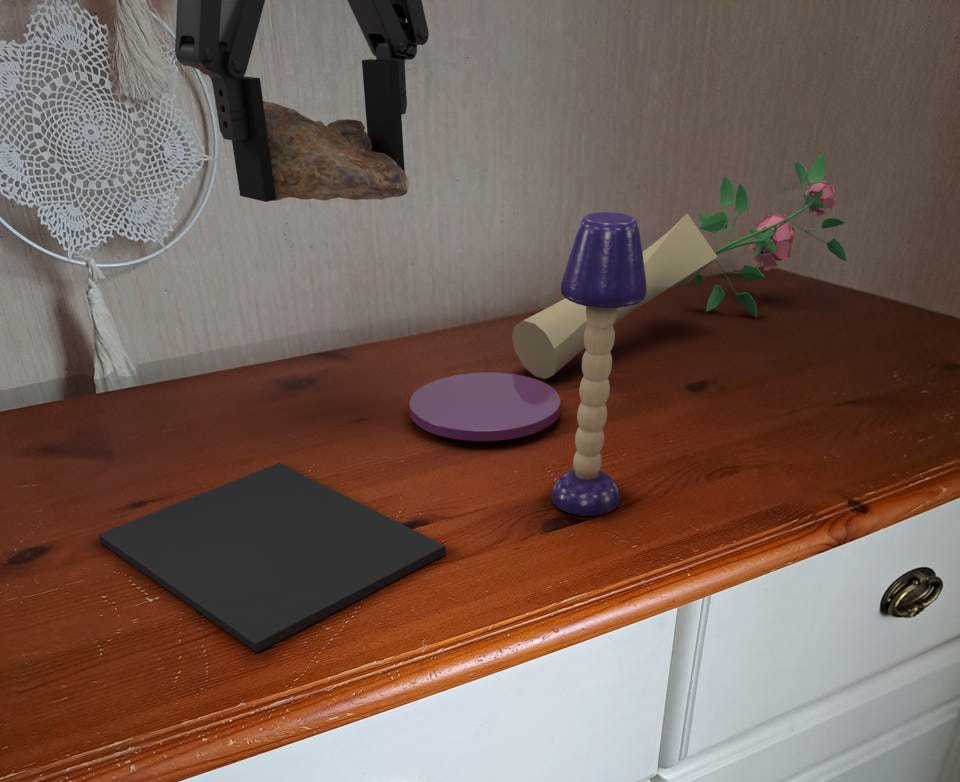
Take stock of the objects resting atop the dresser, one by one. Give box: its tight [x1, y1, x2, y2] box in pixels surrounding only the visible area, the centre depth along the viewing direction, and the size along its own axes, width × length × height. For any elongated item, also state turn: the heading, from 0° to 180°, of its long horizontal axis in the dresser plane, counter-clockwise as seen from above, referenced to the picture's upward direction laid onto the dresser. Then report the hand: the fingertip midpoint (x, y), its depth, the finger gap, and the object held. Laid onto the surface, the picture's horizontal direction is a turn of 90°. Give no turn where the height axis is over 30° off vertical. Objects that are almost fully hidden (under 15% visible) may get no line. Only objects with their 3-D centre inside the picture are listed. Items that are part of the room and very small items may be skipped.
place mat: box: [98, 462, 447, 653], centre depth 56 cm, size 16×13×1 cm
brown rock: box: [263, 100, 410, 202], centre depth 62 cm, size 10×12×5 cm
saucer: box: [409, 372, 562, 442], centre depth 71 cm, size 11×11×1 cm
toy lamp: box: [550, 211, 646, 517], centre depth 55 cm, size 5×5×17 cm
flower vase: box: [511, 152, 849, 380], centre depth 84 cm, size 12×12×35 cm
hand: (325, 183), depth 63 cm, fingers closed on brown rock, 10 cm apart
